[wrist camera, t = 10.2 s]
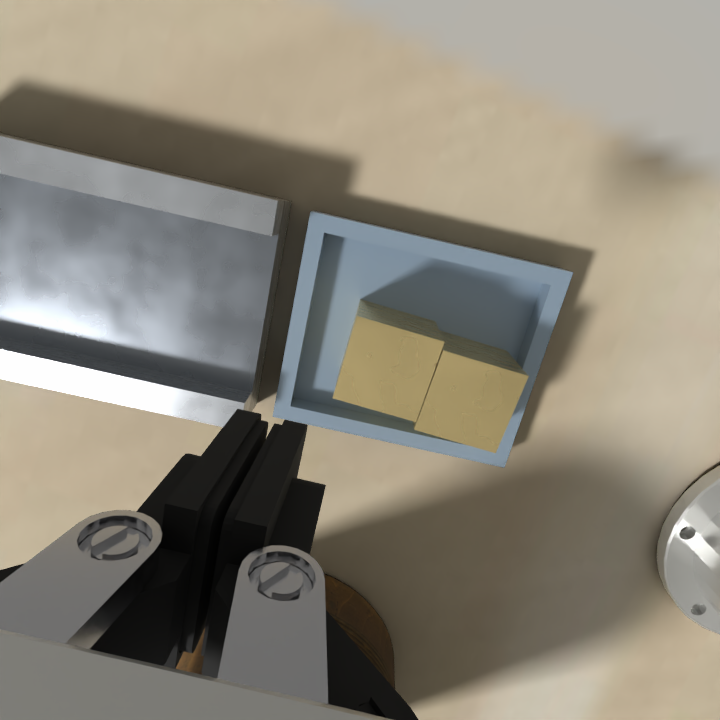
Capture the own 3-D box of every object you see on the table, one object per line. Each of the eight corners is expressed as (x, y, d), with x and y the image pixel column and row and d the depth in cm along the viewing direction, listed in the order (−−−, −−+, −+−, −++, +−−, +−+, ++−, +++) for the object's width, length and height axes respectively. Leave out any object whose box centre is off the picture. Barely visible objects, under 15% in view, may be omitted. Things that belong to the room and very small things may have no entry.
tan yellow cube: (506, 350, 26) (528, 376, 22) (479, 417, 27) (495, 453, 23) (433, 328, 26) (442, 350, 22) (409, 397, 27) (414, 429, 23)
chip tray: (561, 268, 25) (573, 272, 23) (497, 453, 28) (504, 467, 27) (314, 210, 25) (310, 211, 23) (278, 404, 28) (272, 416, 26)
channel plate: (291, 200, 24) (277, 200, 21) (256, 403, 28) (239, 430, 24) (-35, 124, 24) (-102, 112, 21) (-31, 340, 27) (-88, 359, 24)
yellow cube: (435, 321, 26) (444, 341, 22) (410, 390, 27) (416, 422, 23) (360, 299, 25) (356, 316, 22) (339, 370, 27) (332, 398, 23)
